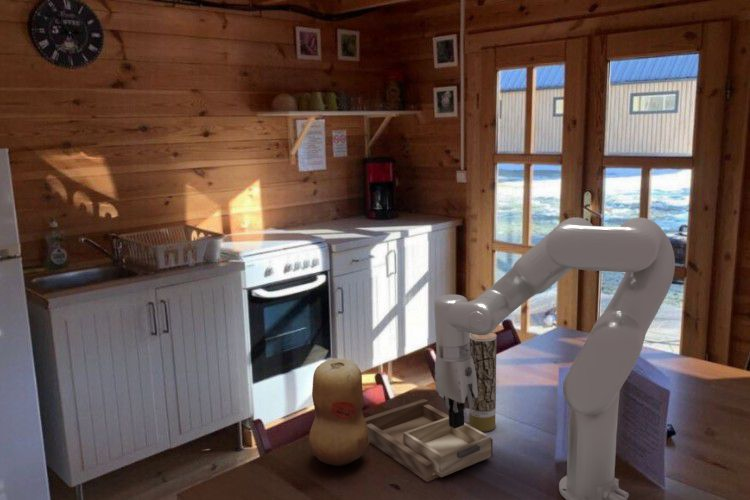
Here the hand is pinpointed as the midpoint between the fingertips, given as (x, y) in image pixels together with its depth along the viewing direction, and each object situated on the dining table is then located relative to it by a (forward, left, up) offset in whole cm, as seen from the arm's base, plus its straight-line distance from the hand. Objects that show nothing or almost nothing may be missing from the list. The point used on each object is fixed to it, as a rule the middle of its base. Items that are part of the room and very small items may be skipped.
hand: (456, 425), depth 151 cm
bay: (+11, +1, -10) cm, 15 cm away
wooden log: (+10, -17, -10) cm, 22 cm away
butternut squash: (+17, +22, -10) cm, 29 cm away
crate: (+2, +1, -8) cm, 9 cm away
